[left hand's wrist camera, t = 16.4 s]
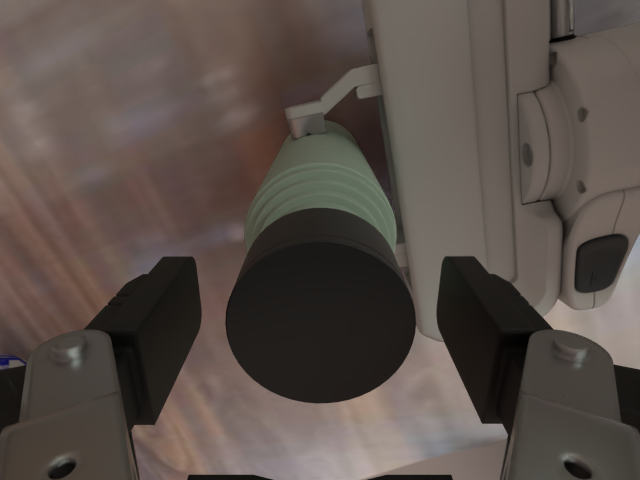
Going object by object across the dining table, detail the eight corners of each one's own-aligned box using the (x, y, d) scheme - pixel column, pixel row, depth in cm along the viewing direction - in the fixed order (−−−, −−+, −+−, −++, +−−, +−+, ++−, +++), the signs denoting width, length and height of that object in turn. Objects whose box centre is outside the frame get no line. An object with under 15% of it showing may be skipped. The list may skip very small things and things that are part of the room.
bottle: (334, 214, 29) (358, 434, 11) (265, 176, 28) (171, 353, 10) (376, 146, 27) (481, 279, 10) (304, 103, 26) (271, 164, 9)
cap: (429, 273, 12) (456, 321, 9) (327, 368, 13) (329, 431, 11) (312, 173, 11) (310, 199, 8) (212, 287, 12) (187, 337, 10)
